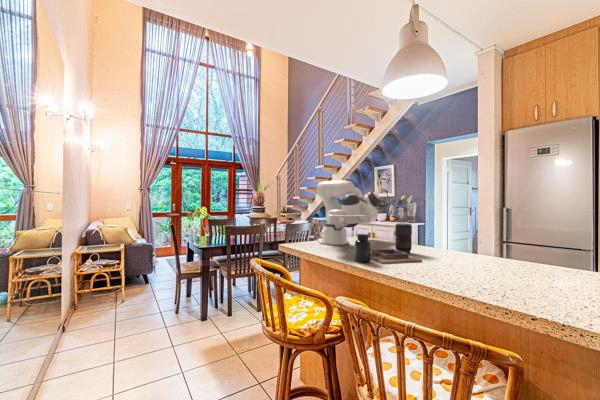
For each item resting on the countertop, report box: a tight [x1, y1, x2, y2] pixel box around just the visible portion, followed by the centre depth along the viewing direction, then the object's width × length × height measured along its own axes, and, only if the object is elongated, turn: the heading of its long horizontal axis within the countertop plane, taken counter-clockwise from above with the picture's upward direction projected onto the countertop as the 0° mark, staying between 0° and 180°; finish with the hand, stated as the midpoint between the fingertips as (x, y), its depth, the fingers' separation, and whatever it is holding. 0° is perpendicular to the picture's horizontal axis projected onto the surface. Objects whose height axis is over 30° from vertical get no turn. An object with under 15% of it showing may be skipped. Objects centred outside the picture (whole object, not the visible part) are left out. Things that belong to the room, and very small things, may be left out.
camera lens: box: [394, 223, 413, 255], centre depth 146 cm, size 8×8×15 cm
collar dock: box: [370, 248, 423, 265], centre depth 133 cm, size 20×20×3 cm
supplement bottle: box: [354, 233, 372, 264], centre depth 125 cm, size 7×7×12 cm
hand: (353, 219), depth 136 cm, fingers open, 8 cm apart
